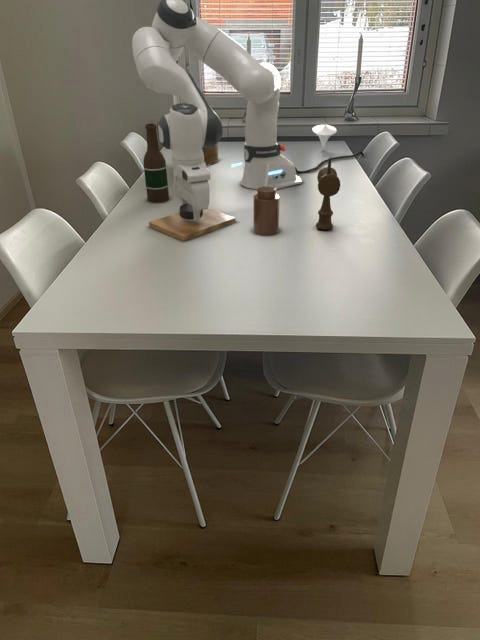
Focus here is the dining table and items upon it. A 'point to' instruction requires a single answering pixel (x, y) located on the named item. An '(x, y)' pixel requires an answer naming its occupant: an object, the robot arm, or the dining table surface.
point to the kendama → (327, 195)
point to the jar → (266, 211)
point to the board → (191, 224)
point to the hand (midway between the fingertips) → (191, 215)
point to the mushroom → (324, 133)
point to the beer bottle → (155, 168)
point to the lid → (187, 211)
